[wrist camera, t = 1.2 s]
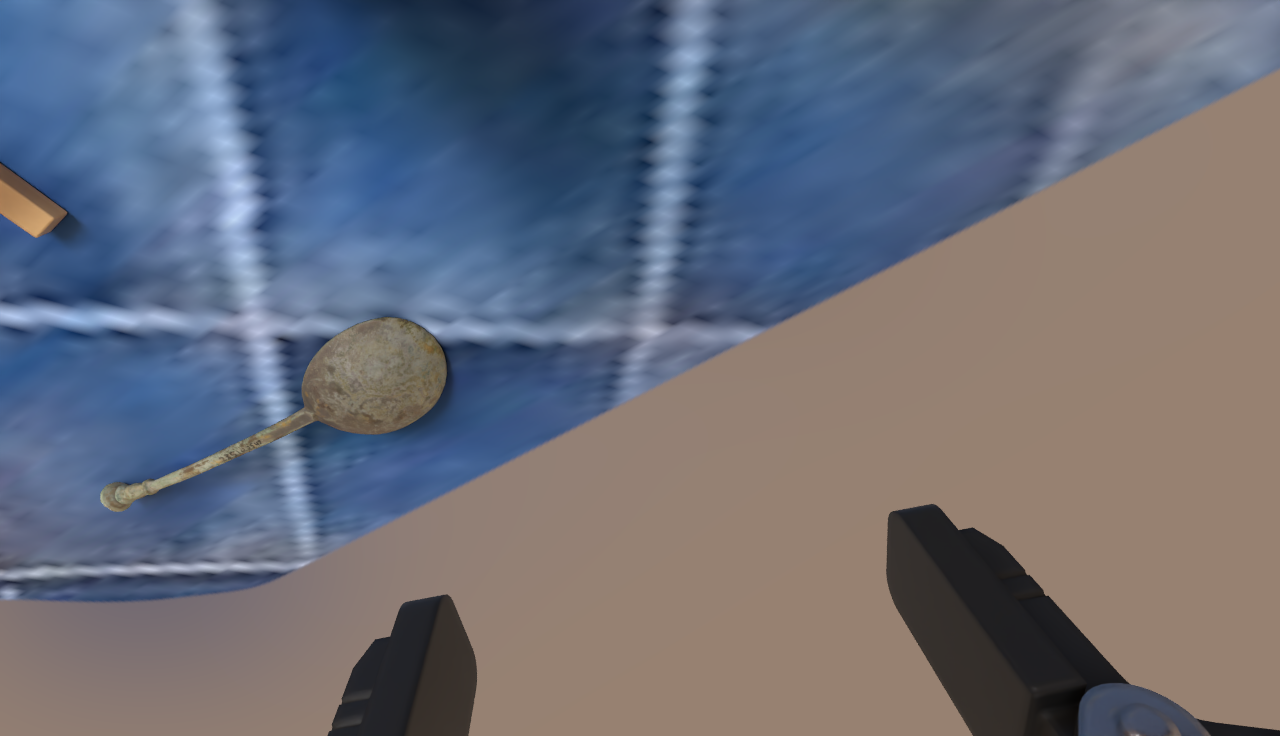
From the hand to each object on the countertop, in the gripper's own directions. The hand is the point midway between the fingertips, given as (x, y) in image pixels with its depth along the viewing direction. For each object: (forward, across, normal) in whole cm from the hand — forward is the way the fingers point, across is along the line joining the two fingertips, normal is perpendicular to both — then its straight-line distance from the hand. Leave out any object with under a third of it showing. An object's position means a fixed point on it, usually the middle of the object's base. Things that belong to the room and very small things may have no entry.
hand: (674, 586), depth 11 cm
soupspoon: (+24, +21, +6) cm, 33 cm away
